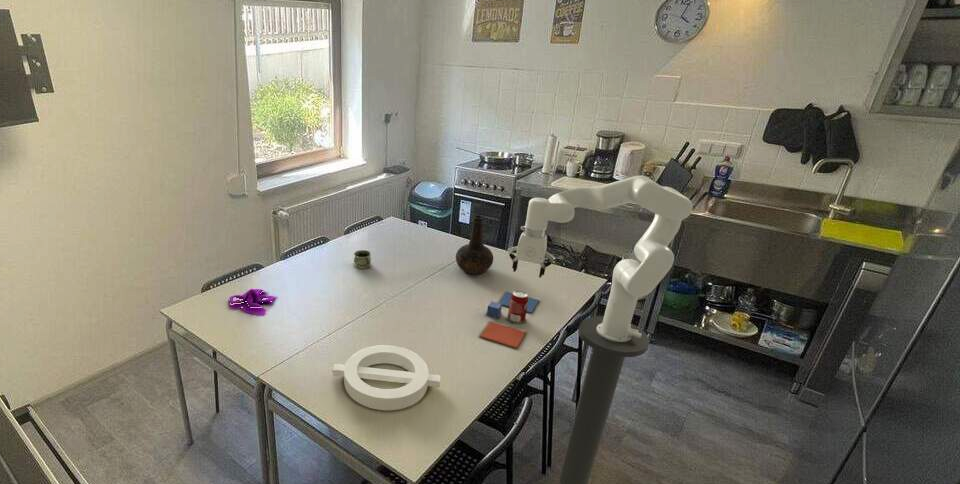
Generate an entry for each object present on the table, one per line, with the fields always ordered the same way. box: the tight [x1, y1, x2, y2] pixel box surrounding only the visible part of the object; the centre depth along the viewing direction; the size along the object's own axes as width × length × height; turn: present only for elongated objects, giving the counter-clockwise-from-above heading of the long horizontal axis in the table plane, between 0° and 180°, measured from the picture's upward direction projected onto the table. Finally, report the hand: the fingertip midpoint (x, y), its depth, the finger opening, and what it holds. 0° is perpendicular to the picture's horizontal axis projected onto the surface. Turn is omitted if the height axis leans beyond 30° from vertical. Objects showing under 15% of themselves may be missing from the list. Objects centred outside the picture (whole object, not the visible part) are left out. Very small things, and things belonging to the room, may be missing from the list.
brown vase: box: [455, 214, 494, 275], centre depth 234 cm, size 18×18×28 cm
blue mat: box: [498, 291, 540, 314], centre depth 211 cm, size 14×12×1 cm
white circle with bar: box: [332, 344, 441, 411], centre depth 164 cm, size 28×28×5 cm
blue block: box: [486, 301, 503, 319], centre depth 202 cm, size 4×4×4 cm
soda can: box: [507, 289, 529, 324], centre depth 197 cm, size 7×7×12 cm
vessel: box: [353, 249, 372, 269], centre depth 244 cm, size 12×9×6 cm
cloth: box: [228, 288, 276, 316], centre depth 210 cm, size 22×19×6 cm
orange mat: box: [479, 321, 526, 349], centre depth 189 cm, size 14×12×1 cm
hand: (527, 273), depth 187 cm, fingers open, 9 cm apart
